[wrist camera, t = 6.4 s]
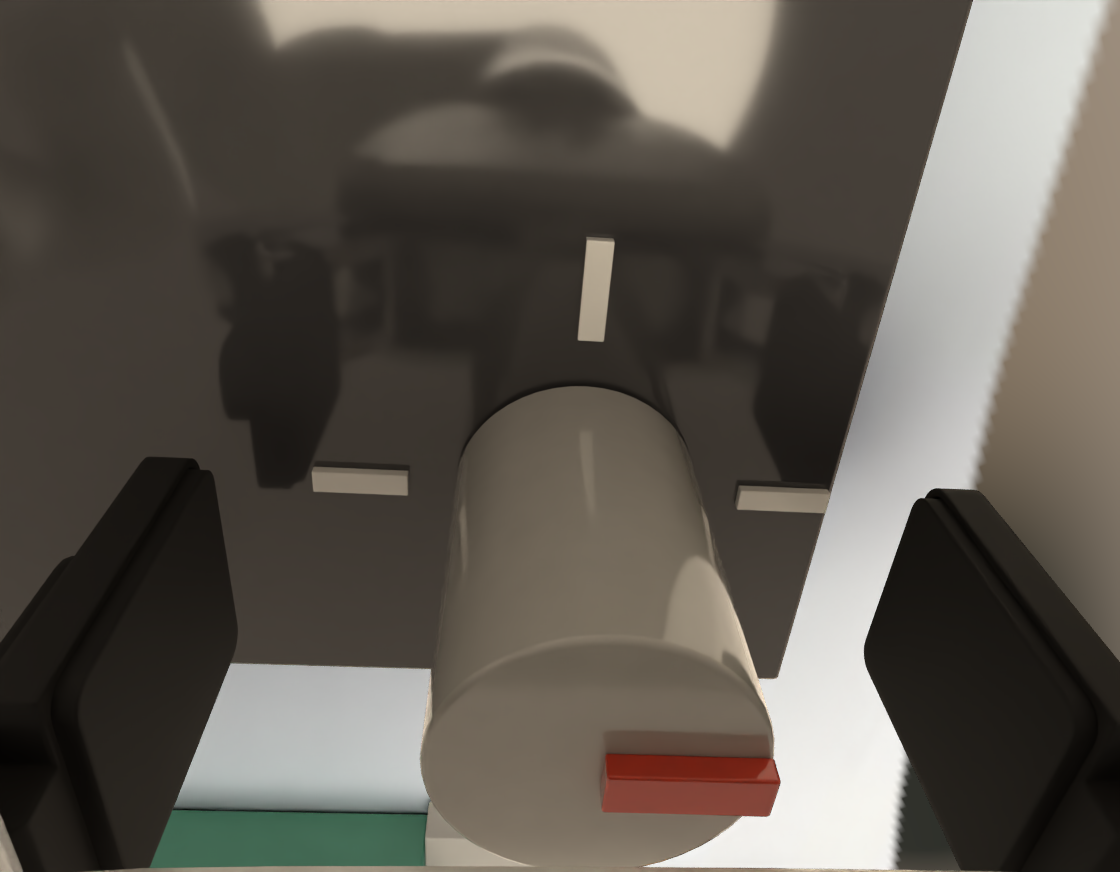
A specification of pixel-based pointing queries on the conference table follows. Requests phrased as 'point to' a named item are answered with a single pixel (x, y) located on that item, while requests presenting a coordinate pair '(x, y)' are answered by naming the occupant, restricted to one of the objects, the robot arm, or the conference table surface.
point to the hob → (440, 270)
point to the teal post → (315, 840)
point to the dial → (589, 646)
